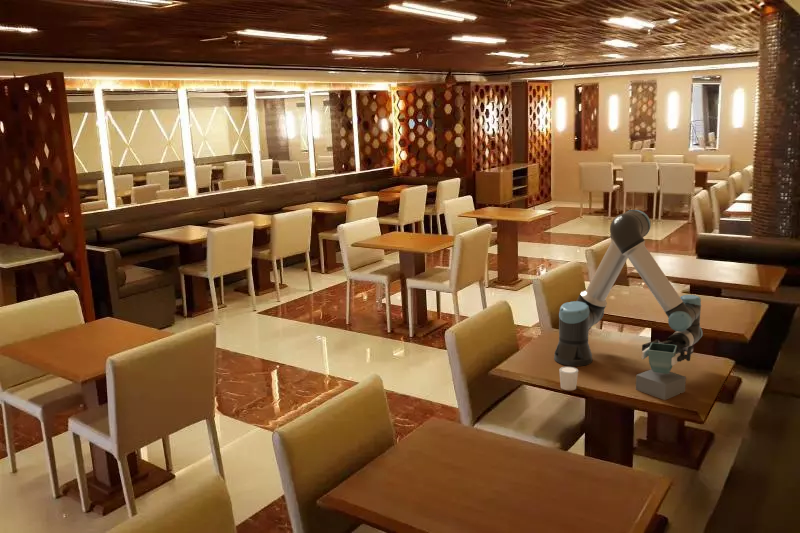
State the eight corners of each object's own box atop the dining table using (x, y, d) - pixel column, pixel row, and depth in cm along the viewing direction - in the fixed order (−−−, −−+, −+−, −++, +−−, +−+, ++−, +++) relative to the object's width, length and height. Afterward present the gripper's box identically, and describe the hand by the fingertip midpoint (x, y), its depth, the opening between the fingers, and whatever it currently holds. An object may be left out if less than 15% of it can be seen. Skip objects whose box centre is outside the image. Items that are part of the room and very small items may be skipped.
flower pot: (646, 373, 239) (647, 349, 237) (650, 365, 246) (651, 342, 245) (673, 377, 235) (674, 352, 233) (675, 368, 242) (677, 345, 240)
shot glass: (576, 383, 251) (576, 366, 249) (579, 391, 244) (579, 373, 243) (557, 383, 252) (558, 366, 250) (560, 391, 245) (560, 373, 243)
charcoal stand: (635, 390, 244) (636, 374, 243) (655, 382, 251) (656, 367, 249) (664, 401, 234) (665, 384, 233) (684, 392, 241) (685, 376, 240)
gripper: (710, 357, 246) (689, 375, 230) (649, 345, 261) (626, 361, 244) (711, 338, 244) (690, 355, 228) (650, 327, 259) (626, 342, 243)
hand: (657, 358), depth 236 cm, fingers closed on flower pot, 10 cm apart
